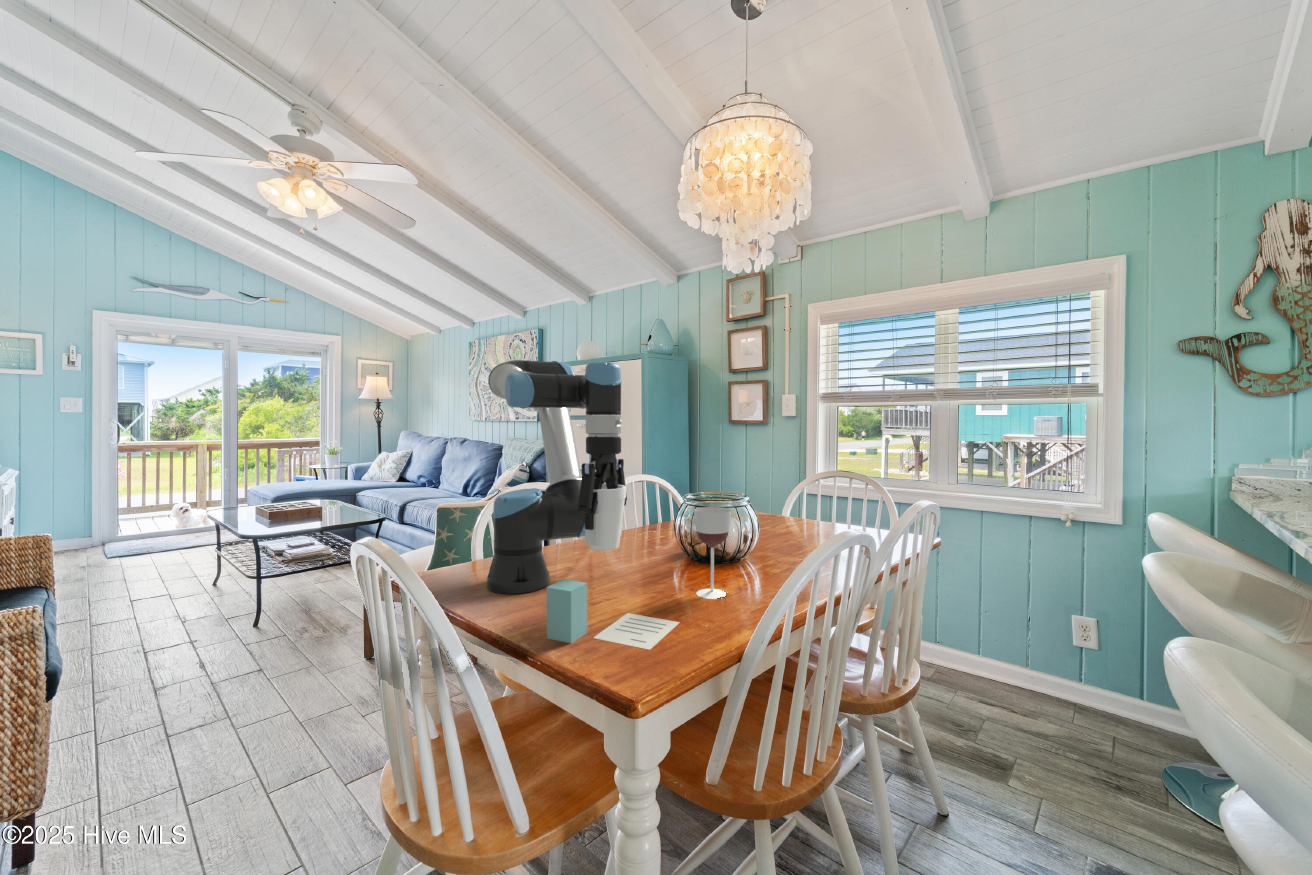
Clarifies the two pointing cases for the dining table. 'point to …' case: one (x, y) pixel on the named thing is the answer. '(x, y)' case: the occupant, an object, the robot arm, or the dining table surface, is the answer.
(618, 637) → the letter
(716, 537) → the wineglass
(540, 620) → the dining table surface
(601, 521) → the foam cup
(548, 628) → the block
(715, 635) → the dining table surface
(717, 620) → the dining table surface
